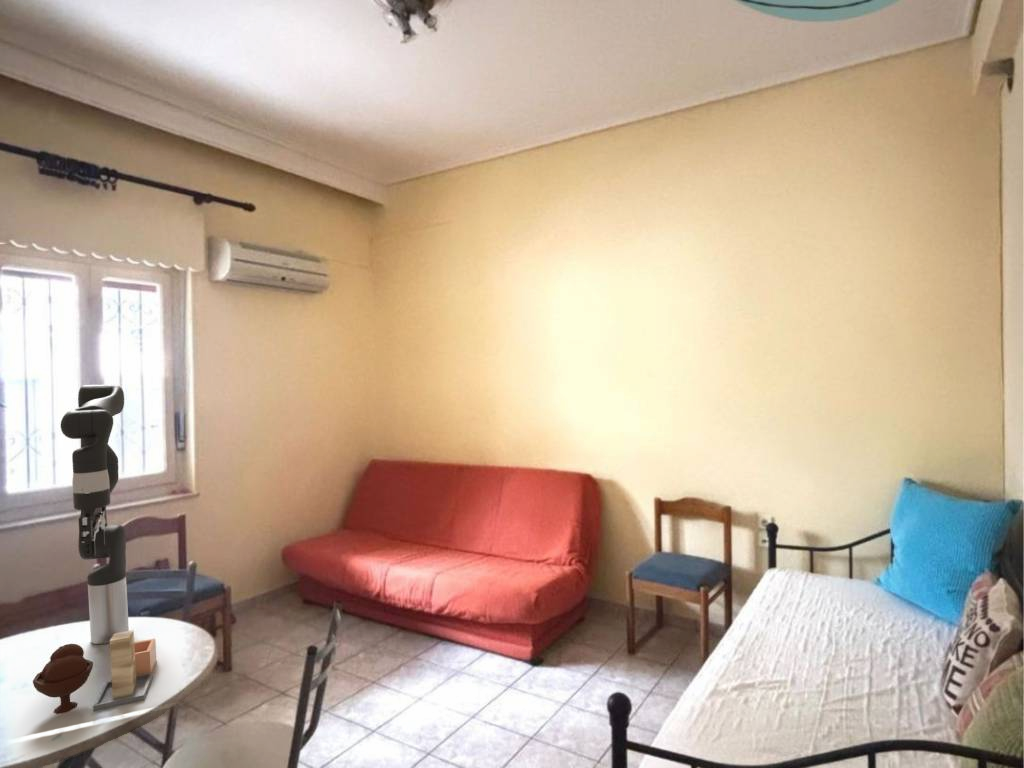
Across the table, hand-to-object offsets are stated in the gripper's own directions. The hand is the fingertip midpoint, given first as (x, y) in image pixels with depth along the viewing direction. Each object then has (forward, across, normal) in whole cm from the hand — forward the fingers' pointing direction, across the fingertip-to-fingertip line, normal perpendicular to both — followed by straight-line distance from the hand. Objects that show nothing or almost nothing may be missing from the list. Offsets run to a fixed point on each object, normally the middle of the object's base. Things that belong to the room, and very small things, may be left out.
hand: (95, 551), depth 145 cm
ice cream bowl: (+33, +14, -4) cm, 36 cm away
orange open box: (+33, +2, +8) cm, 34 cm away
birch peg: (+32, +12, +8) cm, 35 cm away
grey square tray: (+33, +12, +8) cm, 36 cm away
